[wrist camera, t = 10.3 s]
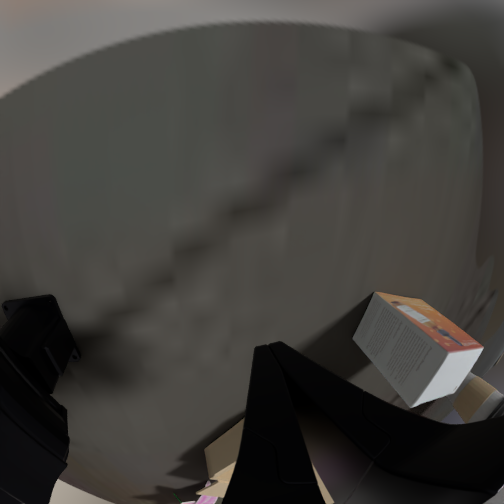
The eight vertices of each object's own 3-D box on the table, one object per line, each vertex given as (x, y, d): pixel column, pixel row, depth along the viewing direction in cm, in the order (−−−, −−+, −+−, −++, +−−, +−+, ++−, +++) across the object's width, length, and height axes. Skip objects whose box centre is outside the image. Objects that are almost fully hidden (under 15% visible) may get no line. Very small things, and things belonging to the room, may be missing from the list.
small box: (420, 298, 26) (485, 346, 17) (398, 340, 28) (454, 394, 18) (373, 289, 24) (450, 352, 14) (349, 338, 26) (410, 410, 16)
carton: (181, 462, 28) (185, 492, 23) (304, 361, 25) (324, 396, 20) (243, 474, 32) (250, 499, 27) (358, 387, 29) (378, 414, 25)
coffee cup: (470, 362, 39) (514, 402, 25) (440, 398, 40) (480, 441, 26) (461, 353, 35) (513, 399, 21) (427, 394, 37) (474, 445, 23)
